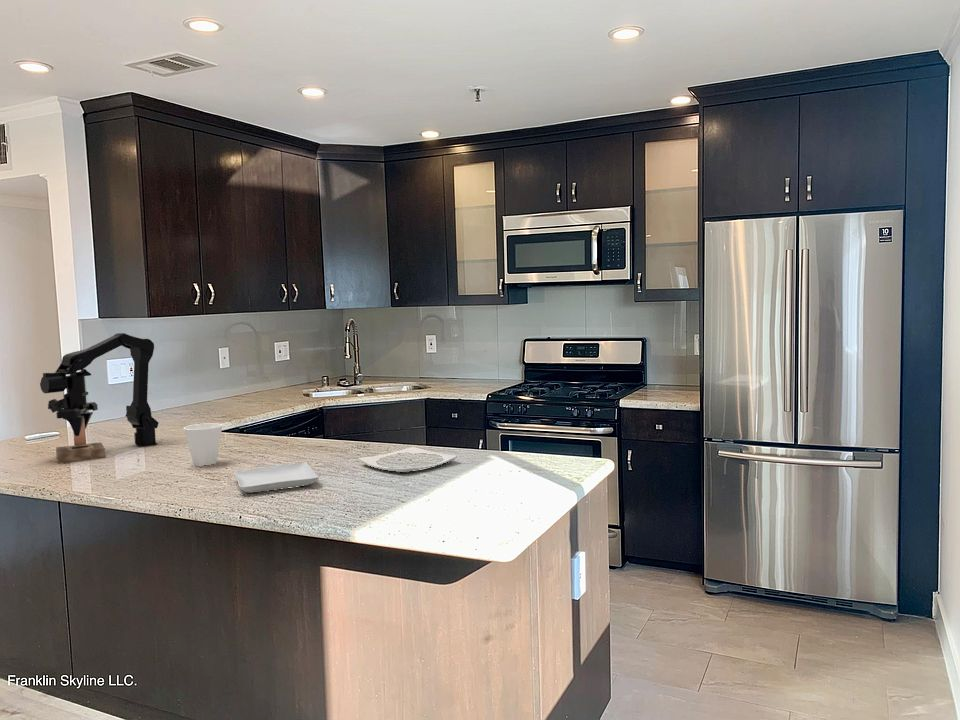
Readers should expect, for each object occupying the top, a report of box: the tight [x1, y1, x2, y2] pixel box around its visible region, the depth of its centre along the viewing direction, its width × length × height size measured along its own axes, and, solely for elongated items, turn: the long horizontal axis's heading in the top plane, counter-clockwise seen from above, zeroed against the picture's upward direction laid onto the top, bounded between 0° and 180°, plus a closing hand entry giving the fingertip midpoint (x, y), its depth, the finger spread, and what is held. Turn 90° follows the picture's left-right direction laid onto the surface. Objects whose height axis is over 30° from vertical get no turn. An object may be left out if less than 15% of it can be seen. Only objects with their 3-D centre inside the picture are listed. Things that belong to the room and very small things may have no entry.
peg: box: [72, 419, 87, 446], centre depth 245 cm, size 4×4×9 cm
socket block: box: [55, 441, 106, 464], centre depth 246 cm, size 14×14×4 cm
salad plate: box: [232, 461, 319, 494], centre depth 202 cm, size 21×21×3 cm
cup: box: [183, 422, 223, 467], centre depth 229 cm, size 12×12×12 cm
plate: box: [358, 446, 458, 473], centre depth 222 cm, size 24×24×3 cm
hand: (79, 434), depth 245 cm, fingers closed on peg, 4 cm apart
